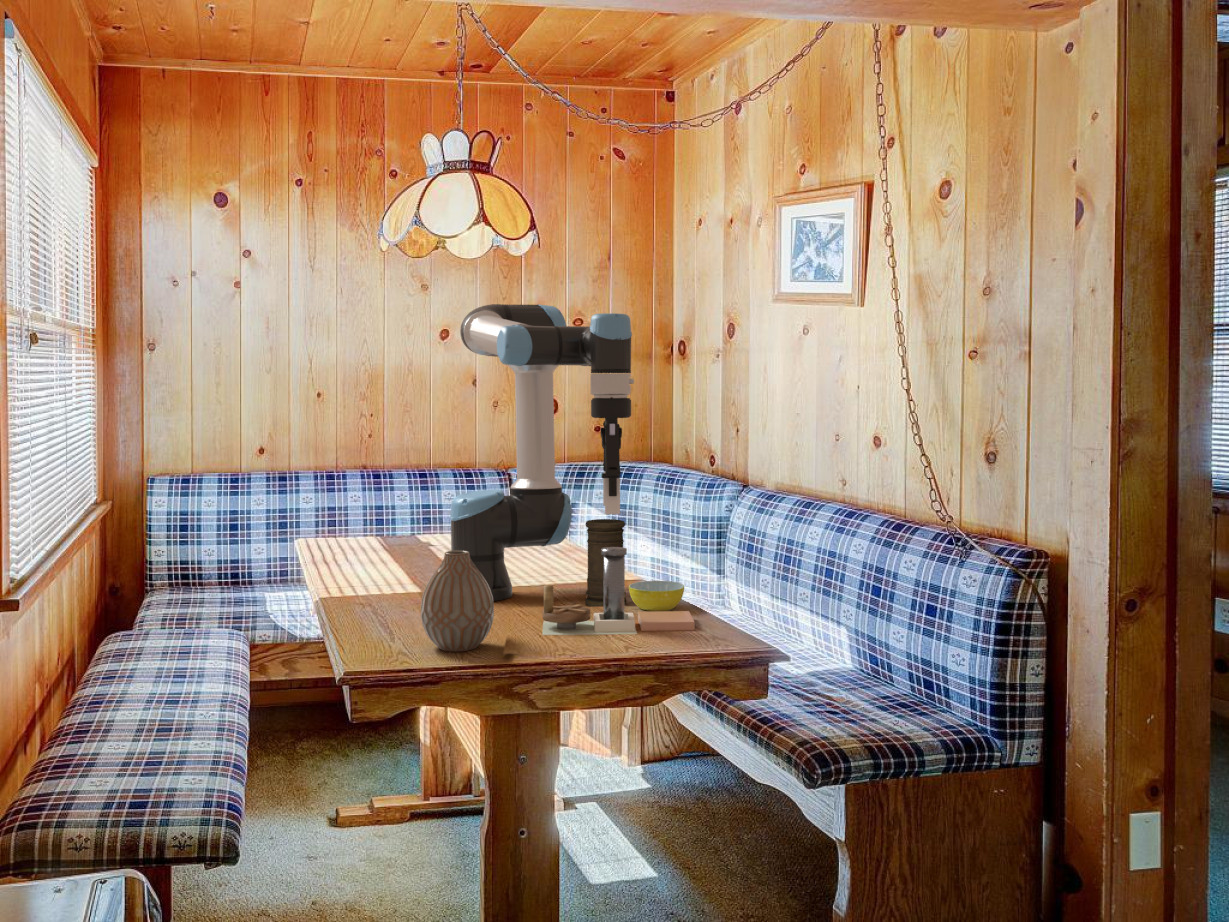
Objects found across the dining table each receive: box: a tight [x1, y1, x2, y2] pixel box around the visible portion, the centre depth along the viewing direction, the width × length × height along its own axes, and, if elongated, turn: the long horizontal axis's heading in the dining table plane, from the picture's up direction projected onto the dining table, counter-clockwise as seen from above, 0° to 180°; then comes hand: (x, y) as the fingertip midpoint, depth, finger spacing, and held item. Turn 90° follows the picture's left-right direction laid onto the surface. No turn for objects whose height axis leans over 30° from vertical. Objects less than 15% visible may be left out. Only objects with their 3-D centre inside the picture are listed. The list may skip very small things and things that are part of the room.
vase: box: [420, 550, 495, 653], centre depth 216 cm, size 13×13×18 cm
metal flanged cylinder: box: [601, 546, 628, 620], centre depth 226 cm, size 5×5×15 cm
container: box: [584, 518, 627, 608], centre depth 256 cm, size 9×9×18 cm
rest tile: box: [637, 610, 695, 632], centre depth 229 cm, size 10×10×3 cm
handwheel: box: [542, 584, 591, 623], centre depth 226 cm, size 9×9×6 cm
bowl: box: [628, 580, 685, 612], centre depth 245 cm, size 11×12×6 cm
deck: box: [541, 612, 638, 636], centre depth 226 cm, size 18×12×4 cm
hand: (611, 510), depth 224 cm, fingers open, 13 cm apart
